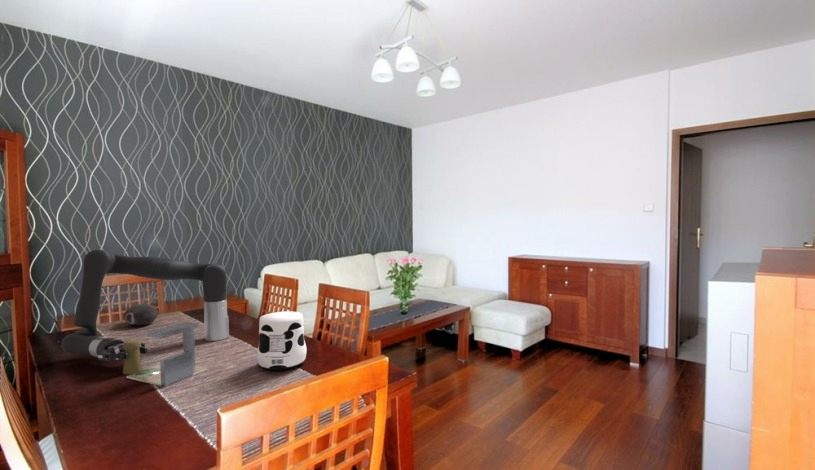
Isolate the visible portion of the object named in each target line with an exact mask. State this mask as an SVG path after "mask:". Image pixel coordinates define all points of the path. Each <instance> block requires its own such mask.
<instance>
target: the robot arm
mask: <svg viewBox="0 0 815 470" xmlns="http://www.w3.org/2000/svg"><path fill="white" fill-rule="evenodd" d="M82 273H83V274H82V280H81V281H82V282H81V289H80V293H79V296H78V297H79V298H78V301H77V305H76V309H75V313H74V318H73V321H72V325H74V326H75V327H76V328H77V327H78V328H83V332H84V333H83V332H81V333H77V332H76V333H70V334H67V335H66V336H64V337H63V339H62V340H61V344H60V345H61V349H62V350H63V351H64V352H66V353H68V354H78V355H79V354H82V355H88V356H91V357H96V358H97V360H98V361H106V362H112V361H114V360H123V361H124V360H128V353H125V350H124V349H123V344H124V343H125V342H124V341H123V340H122V339H121V338H117V337H116V338H115V337H109V336H101V335H98V333H97V331H98V330H97V321H98V316H99V311H100V306H101V294H102V286H103V282H104V280H105V279H104V278H105V277H106V274H119V275H120V274H121V275H123V274H124V275H130V276H135V277H141V278H145V279H151V280H162V281H177V280H179V281H181V280H192V281H193V280H194V281H200V282H202V288H203V291H202V294H203V313H204V314H203V315H204V318H203V319H204V340H205V341H206V342H216V341H217V342H218V341H222V340H225V339H228V338H230V331H229V330H230V328H229V327H230V326H229V325H230V323H229V322H230V321H229V315H228V303H227V301H228V300H227V299H228V298H227V296H228V293H227V292H228V291H227V290H228V289H227V288H228V287H227V272H226V270H225V267H224V266H222V265H221V264H218V263H195V262H188V261H184V260H179V259H173V258H168V257H160V256H159V257H157V256H127V255H121V254H116V253H112V252H108V251H106V250H105V249H104V250H103V249H92V250H90V251H88V252H87V254H85V256H84V258H83V266H82ZM139 350H140V354H142V355H146V354H147V353H148V347H146V343H145V342H141V346H140V348H139Z"/></svg>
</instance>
